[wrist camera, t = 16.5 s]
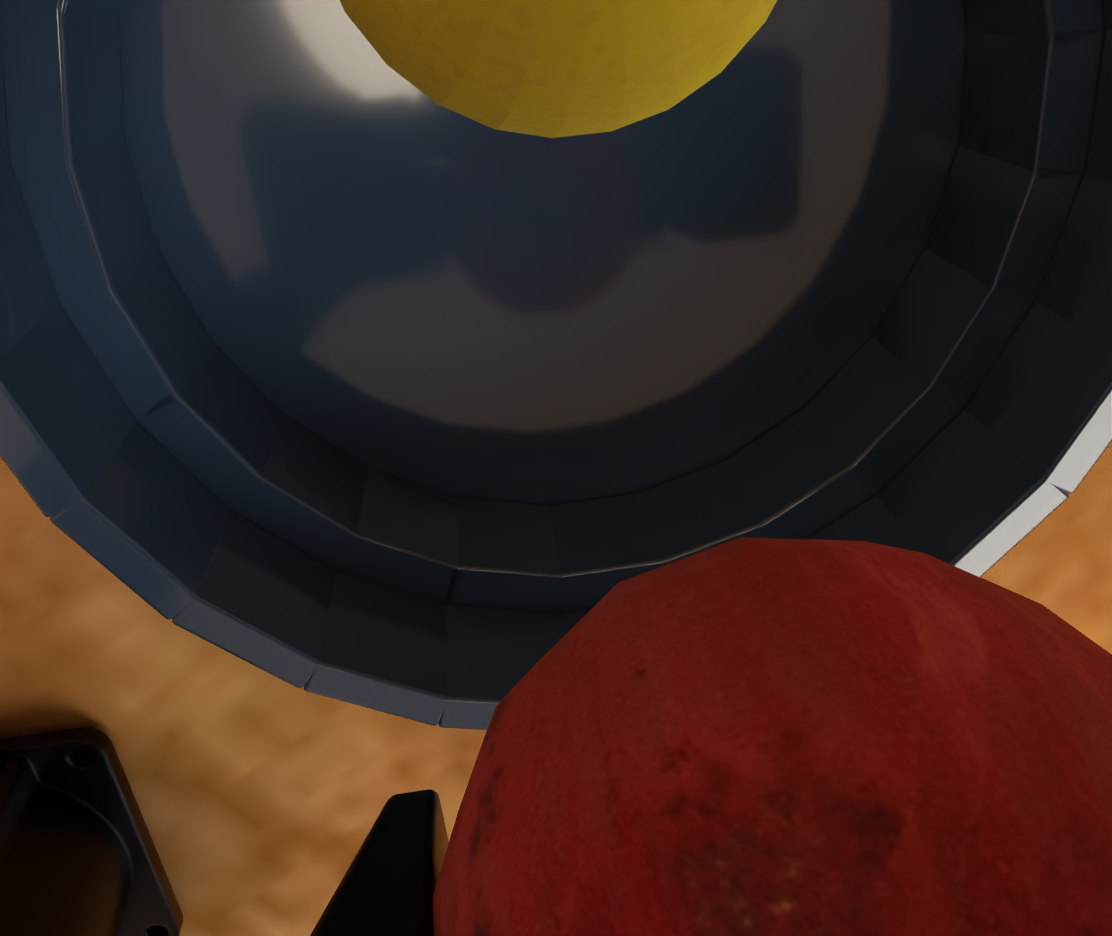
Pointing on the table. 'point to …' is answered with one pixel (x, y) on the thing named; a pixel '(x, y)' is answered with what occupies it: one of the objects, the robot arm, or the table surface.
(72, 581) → the table surface
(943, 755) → the onion
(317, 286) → the bowl
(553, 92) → the lemon
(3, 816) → the robot arm
